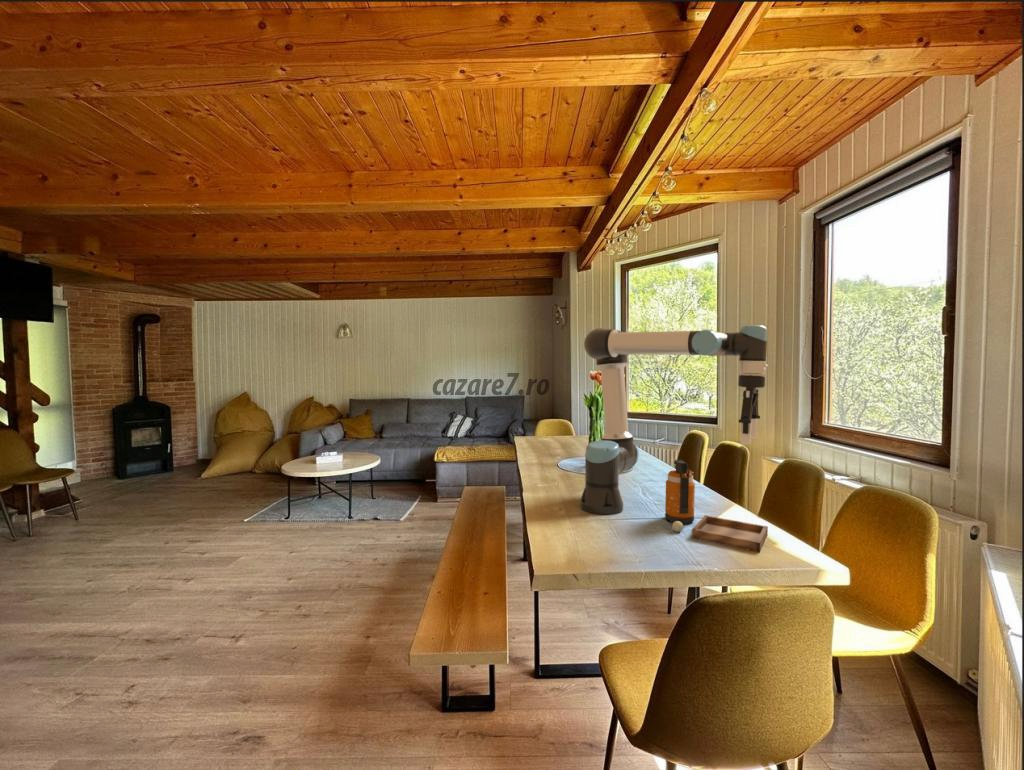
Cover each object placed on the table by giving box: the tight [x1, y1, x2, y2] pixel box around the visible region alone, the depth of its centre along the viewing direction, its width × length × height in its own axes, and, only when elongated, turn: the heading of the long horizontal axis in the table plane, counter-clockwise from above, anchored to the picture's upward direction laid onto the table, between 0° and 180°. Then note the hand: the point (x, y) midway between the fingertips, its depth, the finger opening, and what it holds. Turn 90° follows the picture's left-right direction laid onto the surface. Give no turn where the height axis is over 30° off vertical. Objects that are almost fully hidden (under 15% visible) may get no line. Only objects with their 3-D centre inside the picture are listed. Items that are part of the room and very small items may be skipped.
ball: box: [671, 521, 684, 533], centre depth 145 cm, size 3×3×3 cm
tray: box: [691, 514, 769, 553], centre depth 141 cm, size 18×16×3 cm
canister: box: [664, 459, 696, 525], centre depth 154 cm, size 9×11×20 cm
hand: (748, 441), depth 150 cm, fingers open, 13 cm apart
